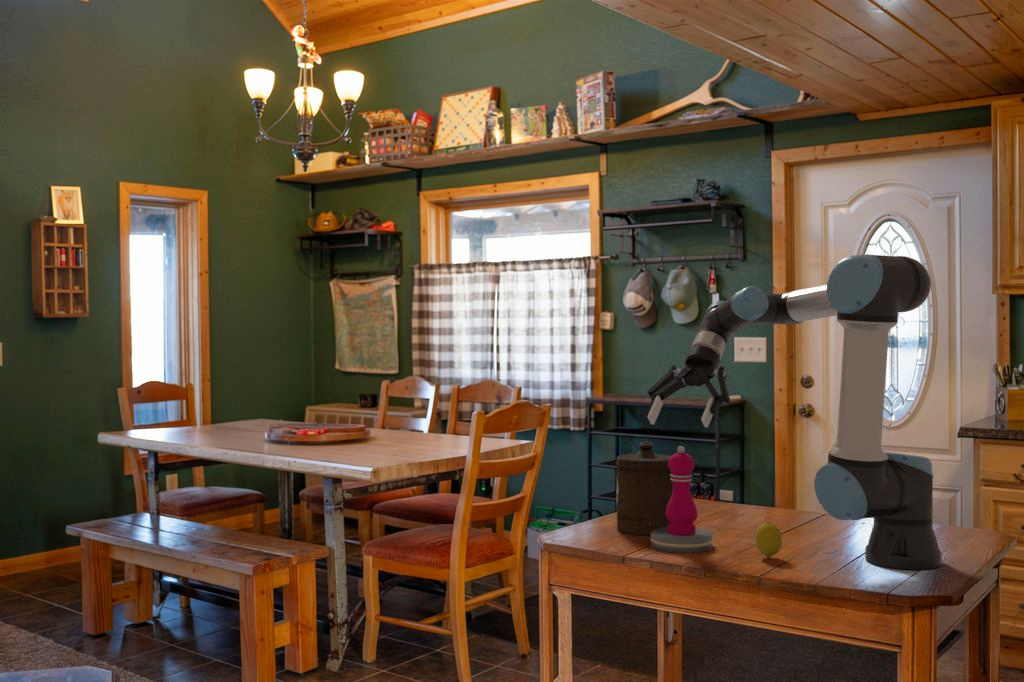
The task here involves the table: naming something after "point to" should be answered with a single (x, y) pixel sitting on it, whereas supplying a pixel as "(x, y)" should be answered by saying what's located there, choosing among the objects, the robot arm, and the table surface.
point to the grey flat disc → (681, 541)
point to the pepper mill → (681, 495)
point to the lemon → (768, 539)
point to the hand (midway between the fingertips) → (676, 422)
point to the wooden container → (643, 491)
